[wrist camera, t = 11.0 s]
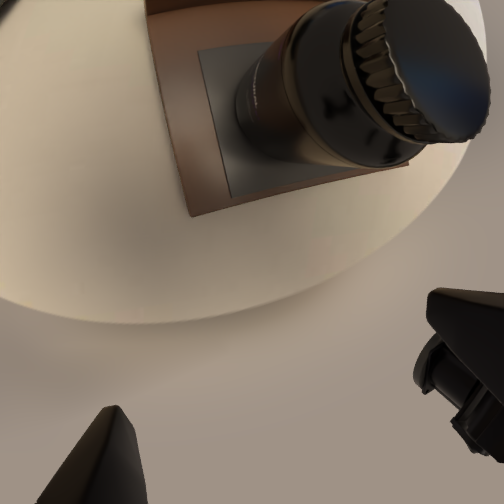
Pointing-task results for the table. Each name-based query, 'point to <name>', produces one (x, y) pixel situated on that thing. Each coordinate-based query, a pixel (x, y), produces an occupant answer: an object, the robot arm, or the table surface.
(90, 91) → the table surface
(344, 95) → the supplement bottle
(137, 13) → the table surface
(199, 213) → the shelf
